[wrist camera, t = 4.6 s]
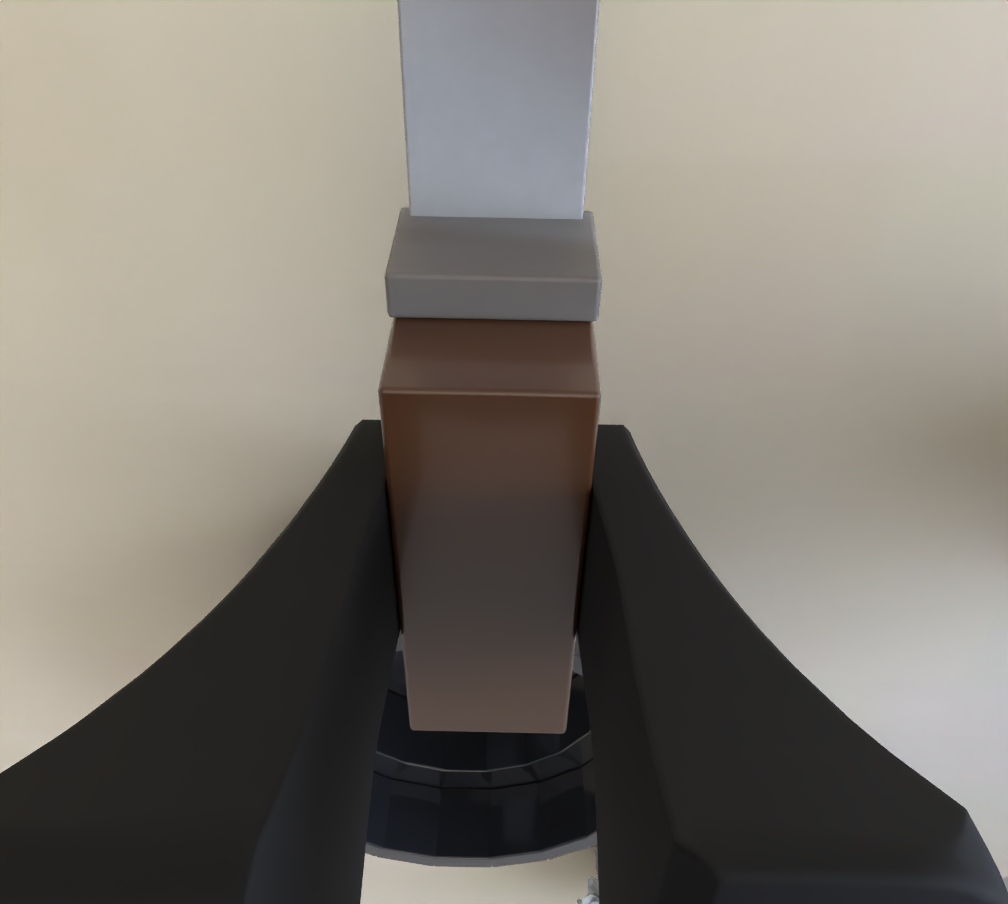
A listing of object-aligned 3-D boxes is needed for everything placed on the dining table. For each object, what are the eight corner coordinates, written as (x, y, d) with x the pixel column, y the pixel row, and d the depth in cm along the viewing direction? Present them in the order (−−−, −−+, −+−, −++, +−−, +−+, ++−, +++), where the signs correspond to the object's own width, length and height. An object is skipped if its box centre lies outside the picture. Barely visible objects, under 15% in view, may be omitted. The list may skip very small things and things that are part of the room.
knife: (562, 578, 16) (569, 736, 14) (424, 574, 16) (406, 731, 14) (704, -1102, 6) (835, -1684, 3) (314, -1108, 6) (163, -1693, 3)
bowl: (676, 483, 24) (707, 637, 20) (633, 725, 31) (648, 871, 27) (250, 476, 24) (199, 627, 20) (307, 719, 31) (277, 864, 27)
